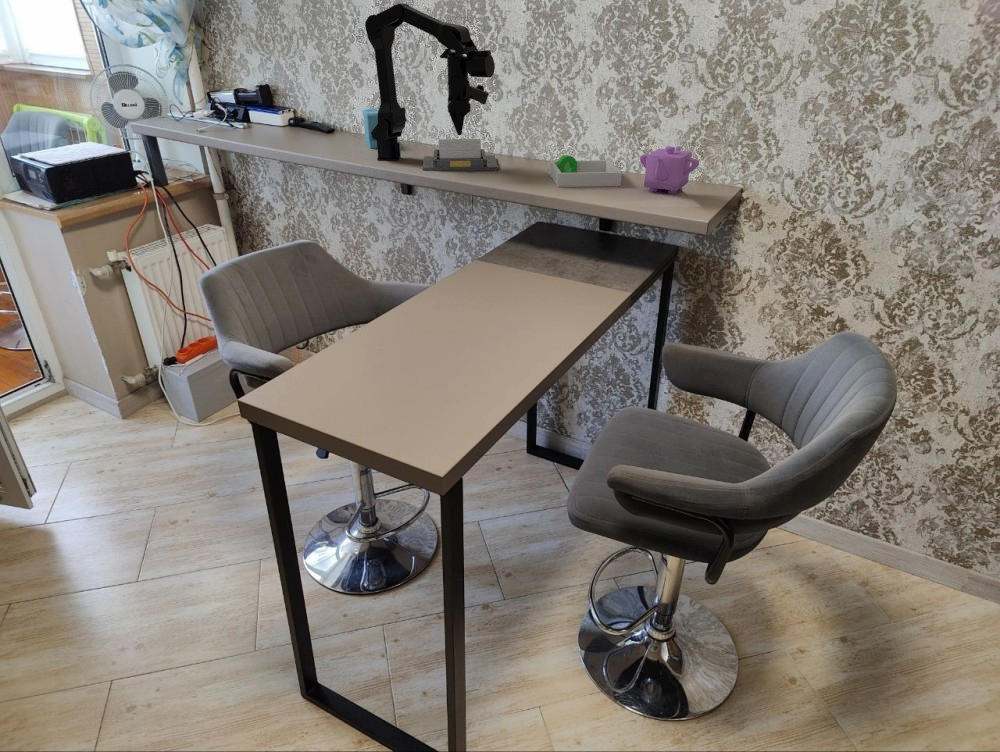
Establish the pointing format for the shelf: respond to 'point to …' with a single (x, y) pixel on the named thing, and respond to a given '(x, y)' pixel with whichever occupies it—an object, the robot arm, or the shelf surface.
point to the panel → (459, 149)
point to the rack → (459, 163)
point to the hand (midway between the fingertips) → (459, 134)
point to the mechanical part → (566, 159)
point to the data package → (370, 126)
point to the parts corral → (587, 174)
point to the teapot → (667, 169)
